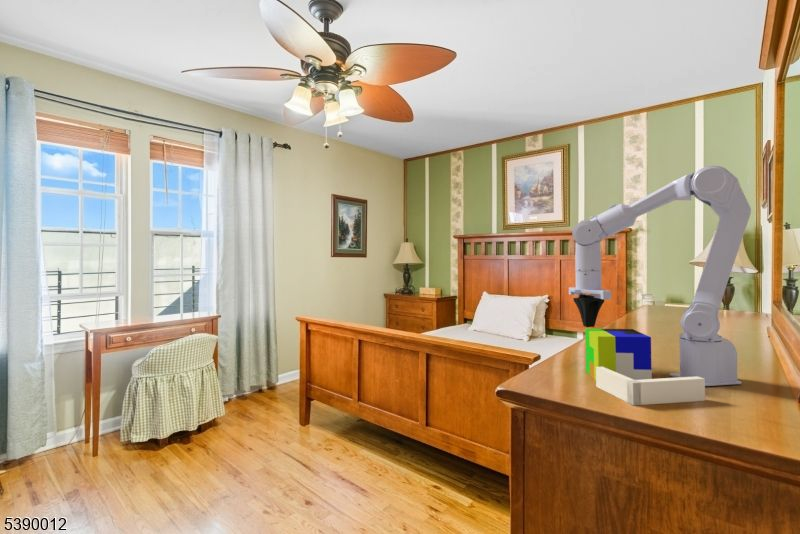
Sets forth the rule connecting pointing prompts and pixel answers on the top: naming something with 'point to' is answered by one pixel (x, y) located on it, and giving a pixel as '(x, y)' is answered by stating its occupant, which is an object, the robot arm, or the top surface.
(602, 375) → the corner walls
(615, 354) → the puzzle toy
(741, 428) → the top surface
